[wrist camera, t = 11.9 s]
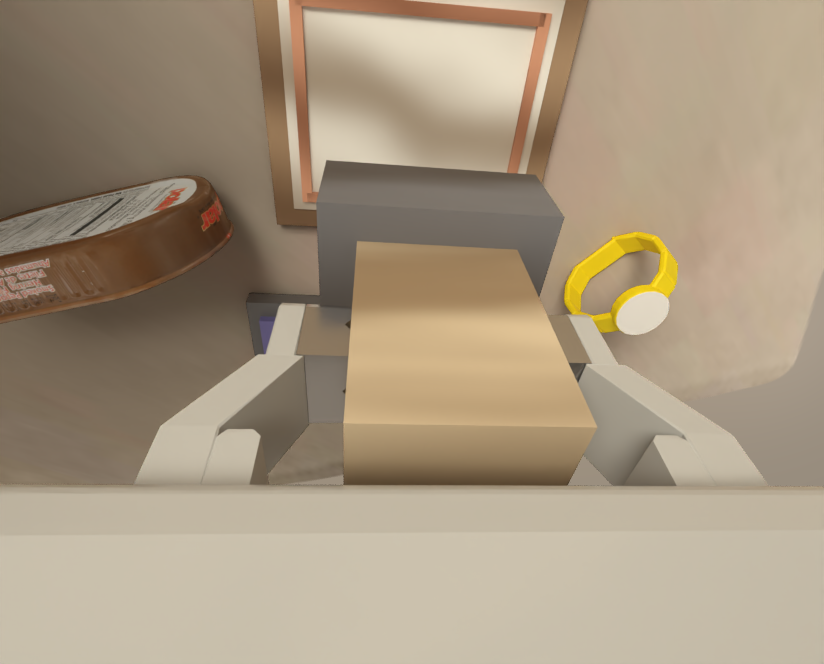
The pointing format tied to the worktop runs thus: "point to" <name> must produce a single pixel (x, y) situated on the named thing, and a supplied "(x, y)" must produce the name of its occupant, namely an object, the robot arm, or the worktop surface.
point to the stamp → (448, 327)
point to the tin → (107, 245)
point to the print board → (410, 86)
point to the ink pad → (269, 315)
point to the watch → (637, 304)
